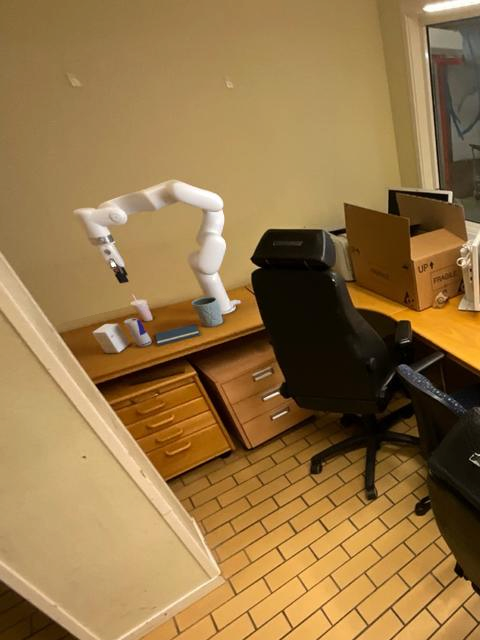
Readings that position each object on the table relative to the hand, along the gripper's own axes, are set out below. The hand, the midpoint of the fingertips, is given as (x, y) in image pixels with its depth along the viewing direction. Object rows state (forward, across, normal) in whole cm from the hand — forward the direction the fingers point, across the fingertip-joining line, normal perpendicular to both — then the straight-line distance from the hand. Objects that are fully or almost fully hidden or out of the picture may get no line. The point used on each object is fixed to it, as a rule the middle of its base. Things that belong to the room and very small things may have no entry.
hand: (123, 279), depth 173 cm
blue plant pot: (+26, -8, -24) cm, 37 cm away
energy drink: (+26, -12, +4) cm, 29 cm away
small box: (+26, -10, +14) cm, 31 cm away
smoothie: (+26, +16, +1) cm, 31 cm away
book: (+26, -12, -8) cm, 30 cm away
